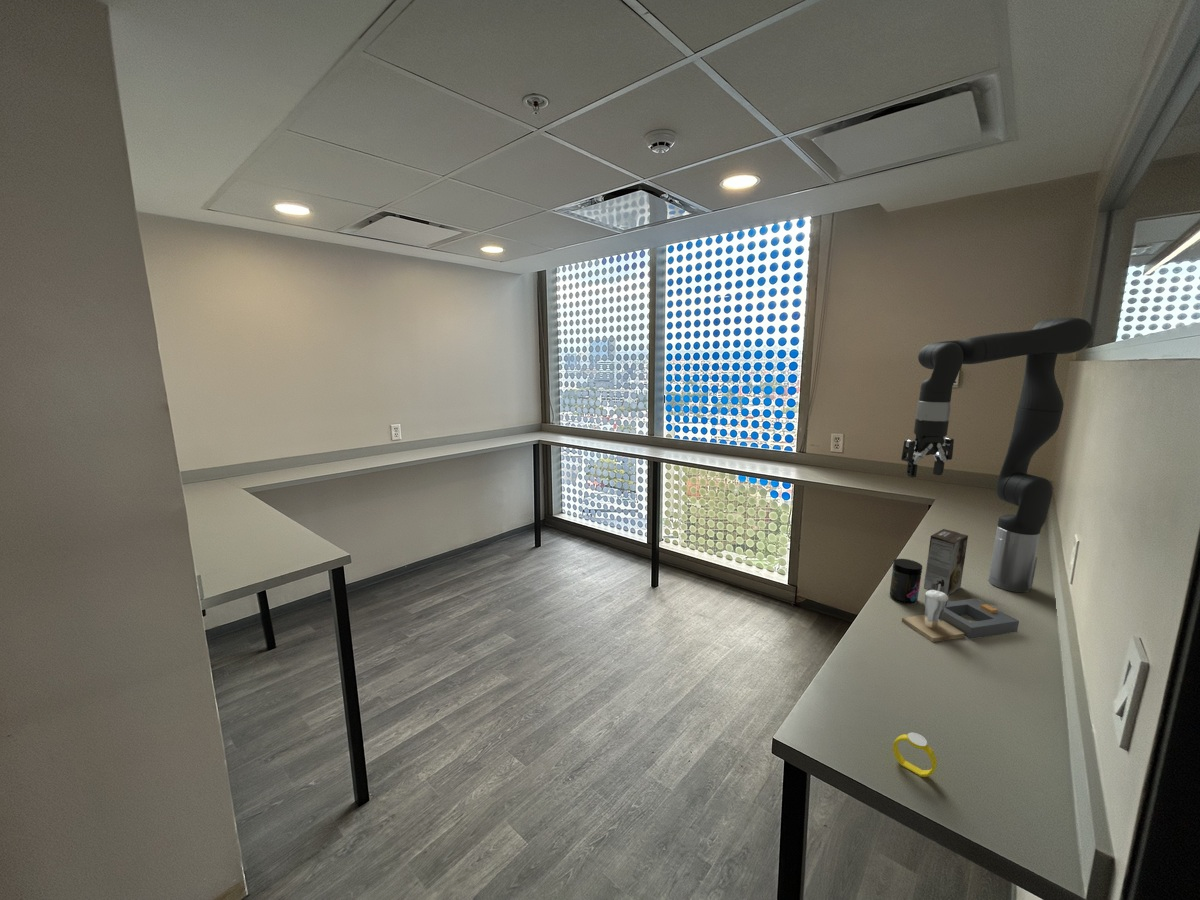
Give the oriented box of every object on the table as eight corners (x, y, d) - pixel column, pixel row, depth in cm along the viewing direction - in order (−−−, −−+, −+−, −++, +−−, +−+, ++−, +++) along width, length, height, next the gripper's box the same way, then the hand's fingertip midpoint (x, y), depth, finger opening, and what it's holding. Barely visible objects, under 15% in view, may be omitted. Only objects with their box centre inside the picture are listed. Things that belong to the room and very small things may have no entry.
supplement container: (902, 606, 129) (907, 570, 127) (883, 594, 135) (887, 559, 133) (923, 603, 130) (928, 567, 128) (903, 591, 137) (908, 557, 135)
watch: (934, 777, 78) (942, 747, 76) (929, 786, 76) (937, 756, 75) (894, 751, 82) (901, 723, 81) (888, 760, 81) (895, 731, 79)
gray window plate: (974, 608, 127) (976, 595, 127) (1017, 631, 117) (1019, 617, 116) (929, 614, 125) (931, 601, 124) (969, 639, 114) (972, 624, 113)
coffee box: (936, 579, 144) (943, 528, 141) (961, 587, 139) (969, 534, 135) (922, 587, 139) (929, 535, 136) (947, 596, 134) (956, 542, 130)
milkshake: (945, 624, 119) (951, 586, 117) (942, 633, 115) (948, 595, 113) (923, 617, 122) (928, 581, 120) (919, 626, 118) (925, 588, 116)
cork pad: (931, 617, 123) (931, 613, 123) (964, 637, 115) (964, 633, 115) (901, 621, 122) (902, 617, 121) (932, 642, 113) (933, 638, 113)
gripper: (941, 415, 135) (934, 471, 138) (898, 417, 132) (891, 474, 136) (966, 418, 128) (958, 477, 131) (921, 420, 125) (914, 480, 128)
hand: (924, 475), depth 133 cm, fingers open, 8 cm apart
